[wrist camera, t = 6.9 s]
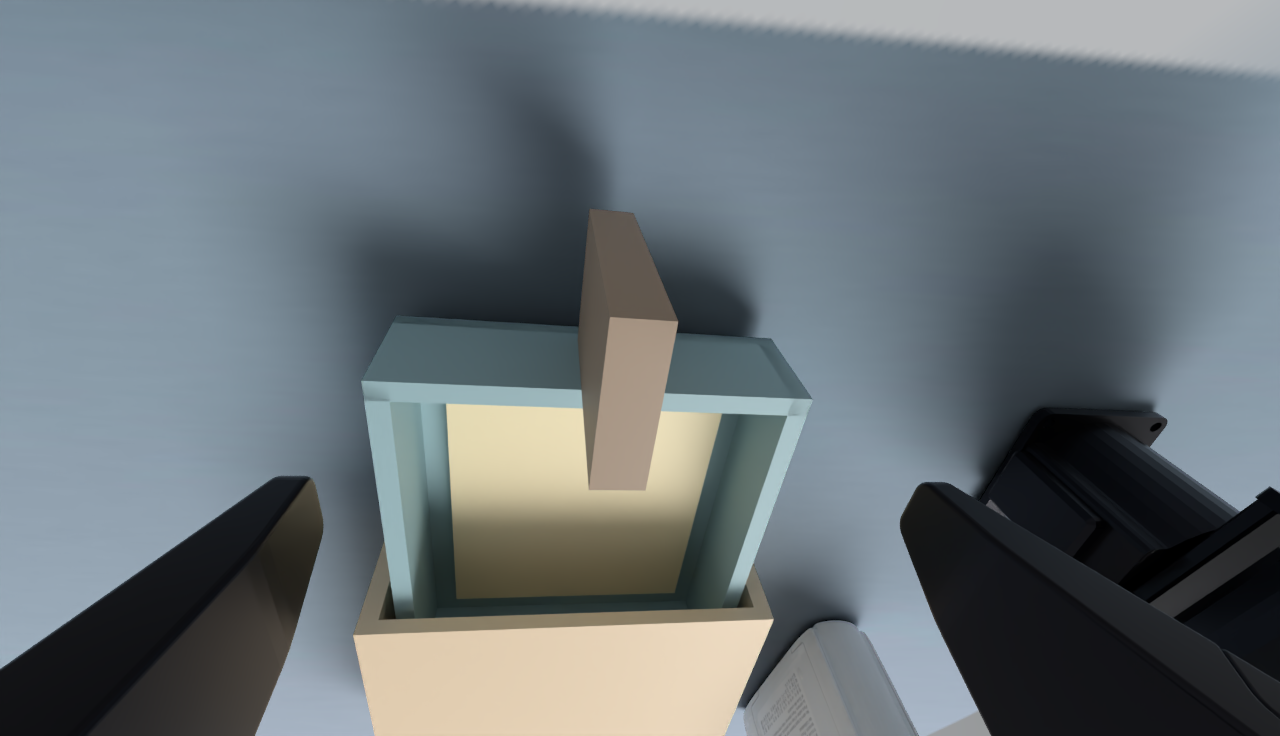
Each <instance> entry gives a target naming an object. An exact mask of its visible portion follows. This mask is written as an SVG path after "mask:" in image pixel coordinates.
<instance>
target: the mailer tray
mask: <svg viewBox="0 0 1280 736" xmlns="http://www.w3.org/2000/svg"><path fill="white" fill-rule="evenodd" d="M677 326H678V319H677V317H676V315H675V312H674V310H673V307H672V305H671V303H670V300H669V298H668V295H667V293H666V291H665V288H664V286H663V283H662V281H661V278H660V276H659V274H658V271H657V269H656V266H655V264H654V262H653V259H652V257H651V254H650V252H649V250H648V247H647V245H646V242H645V240H644V238H643V235H642V233H641V230H640V228H639V226H638V223H637V221H636V218H635V216H634V214H633V213H628V212H618V211H608V210H599V209H589V219H588V230H587V241H586V252H585V263H584V274H583V285H582V296H581V307H580V318H579V327H576V326H559V325H543V324H527V323H511V322H495V321H479V320H463V319H447V318H431V317H415V316H399V315H397V316H396V317H395V319H394V321H393V323H392V325H391V327H390V328H389V330H388V332H387V334H386V336H385V338H384V340H383V341H382V343H381V345H380V347H379V349H378V351H377V353H376V354H375V356H374V358H373V360H372V362H371V364H370V366H369V367H368V369H367V371H366V373H365V375H364V377H363V378H362V380H361V383H362V390H363V397H364V403H365V410H366V417H367V424H368V431H369V438H370V445H371V451H372V458H373V465H374V472H375V479H376V486H377V493H378V499H379V506H380V513H381V520H382V527H383V534H384V541H385V547H386V554H387V561H388V568H389V575H390V582H391V588H392V595H393V602H394V609H395V616H396V619H421V618H451V617H481V616H511V615H541V614H571V613H601V612H631V611H661V610H691V609H721V608H737V606H738V603H739V601H740V598H741V595H742V592H743V590H744V587H745V584H746V581H747V579H748V576H749V573H750V570H751V568H752V565H753V562H754V559H755V557H756V554H757V551H758V548H759V546H760V543H761V540H762V537H763V535H764V532H765V529H766V526H767V524H768V521H769V518H770V515H771V513H772V510H773V507H774V504H775V502H776V499H777V496H778V493H779V491H780V488H781V485H782V482H783V480H784V477H785V474H786V471H787V469H788V466H789V463H790V461H791V458H792V455H793V452H794V450H795V447H796V444H797V441H798V439H799V436H800V433H801V430H802V428H803V425H804V422H805V419H806V417H807V414H808V411H809V408H810V406H811V403H812V400H813V399H812V398H811V396H810V395H809V393H808V392H807V390H806V389H805V387H804V386H803V385H802V383H801V382H800V380H799V379H798V377H797V376H796V374H795V373H794V371H793V370H792V368H791V367H790V366H789V364H788V363H787V361H786V360H785V358H784V357H783V355H782V354H781V352H780V351H779V350H778V348H777V347H776V345H775V344H774V342H773V341H772V339H768V338H752V337H736V336H720V335H704V334H688V333H676V332H677Z"/></svg>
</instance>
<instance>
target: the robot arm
mask: <svg viewBox="0 0 1280 736" xmlns="http://www.w3.org/2000/svg"><path fill="white" fill-rule="evenodd" d="M1166 425H1167V419H1166V418H1164V417H1163V416H1161V415H1159V414H1158V413H1155V412H1134V411H1110V410H1086V409H1062V408H1043V409H1041V410H1039V411H1037V412H1036V413H1035V414H1034V415H1033V416H1032V417H1031V419H1030V421H1029V422H1028V424H1027V425H1026V427H1025V429H1024V430H1023V432H1022V433H1021V435H1020V436H1019V438H1018V440H1017V441H1016V443H1015V444H1014V446H1013V448H1012V449H1011V451H1010V452H1009V454H1008V456H1007V457H1006V459H1005V460H1004V462H1003V464H1002V465H1001V467H1000V468H999V470H998V472H997V473H996V475H995V476H994V478H993V480H992V481H991V483H990V484H989V486H988V488H987V489H986V491H985V492H984V494H983V496H982V497H981V499H980V500H979V501H978V500H976V499H974V498H973V497H971V496H969V495H968V494H966V493H964V492H963V491H961V490H959V489H958V488H956V487H954V486H953V485H951V484H949V483H945V482H924V483H921V484H920V485H919V486H918V487H917V488H916V490H915V492H914V493H913V495H912V497H911V499H910V501H909V503H908V505H907V506H906V508H905V510H904V512H903V514H902V516H901V519H900V530H901V534H902V536H903V539H904V542H905V544H906V547H907V549H908V552H909V555H910V557H911V560H912V563H913V565H914V568H915V570H916V573H917V576H918V578H919V581H920V583H921V586H922V589H923V591H924V594H925V596H926V599H927V602H928V604H929V607H930V609H931V612H932V614H933V617H934V619H935V622H936V624H937V626H938V628H939V630H940V632H941V635H942V637H943V639H944V641H945V643H946V645H947V647H948V649H949V651H950V653H951V655H952V657H953V659H954V661H955V663H956V665H957V667H958V669H959V671H960V673H961V675H962V677H963V680H964V682H965V684H966V686H967V688H968V690H969V692H970V694H971V696H972V698H973V700H974V702H975V704H976V706H977V708H978V710H979V712H980V714H981V716H982V718H983V720H984V722H985V724H986V726H987V728H988V730H989V732H990V734H991V736H1280V492H1279V491H1277V490H1275V489H1273V488H1272V487H1268V488H1267V489H1266V490H1264V491H1263V492H1261V493H1260V494H1259V495H1257V496H1256V498H1257V499H1258V500H1256V501H1255V502H1253V503H1252V504H1251V505H1249V506H1248V507H1247V508H1245V509H1244V510H1242V511H1241V512H1240V511H1238V510H1237V509H1235V508H1234V507H1233V506H1231V505H1230V504H1228V503H1227V502H1226V501H1224V500H1223V499H1221V498H1220V497H1218V496H1217V495H1216V494H1214V493H1213V492H1211V491H1210V490H1209V489H1207V488H1206V487H1204V486H1203V485H1202V484H1200V483H1199V482H1197V481H1196V480H1195V479H1193V478H1192V477H1190V476H1189V475H1188V474H1186V473H1185V472H1183V471H1182V470H1181V469H1179V468H1178V467H1176V466H1175V465H1174V464H1172V463H1171V462H1169V461H1168V460H1167V459H1165V458H1164V457H1162V456H1161V455H1160V454H1158V453H1157V452H1155V451H1154V450H1153V449H1151V448H1150V446H1151V445H1152V443H1153V442H1154V441H1155V440H1156V438H1157V437H1158V436H1159V434H1160V433H1161V432H1162V431H1163V429H1164V428H1165V427H1166ZM322 534H323V517H322V513H321V508H320V504H319V499H318V495H317V490H316V486H315V483H314V481H313V479H312V478H310V477H308V476H278V477H275V478H273V479H271V480H269V481H268V482H267V483H265V484H264V485H262V486H261V487H259V488H258V489H257V490H255V491H254V492H252V493H251V494H249V495H248V496H247V497H245V498H244V499H242V500H241V501H239V502H238V503H237V504H235V505H234V506H232V507H231V508H229V509H228V510H227V511H225V512H224V513H222V514H221V515H219V516H218V517H217V518H215V519H214V520H212V521H211V522H209V523H208V524H207V525H205V526H204V527H202V528H201V529H199V530H198V531H197V532H195V533H194V534H192V535H191V536H189V537H188V538H187V539H185V540H184V541H182V542H181V543H179V544H178V545H177V546H175V547H174V548H172V549H171V550H169V551H168V552H167V553H165V554H164V555H162V556H161V557H159V558H158V559H157V560H155V561H154V562H152V563H151V564H150V565H148V566H147V567H145V568H144V569H142V570H141V571H140V572H138V573H137V574H135V575H134V576H132V577H131V578H130V579H128V580H127V581H125V582H124V583H122V584H121V585H120V586H118V587H117V588H115V589H114V590H112V591H111V592H110V593H108V594H107V595H105V596H104V597H102V598H101V599H100V600H98V601H97V602H95V603H94V604H92V605H91V606H90V607H88V608H87V609H85V610H84V611H82V612H81V613H80V614H78V615H77V616H75V617H74V618H72V619H71V620H70V621H68V622H67V623H65V624H64V625H62V626H61V627H60V628H58V629H57V630H55V631H54V632H52V633H51V634H50V635H48V636H47V637H45V638H44V639H42V640H41V641H40V642H38V643H37V644H35V645H34V646H32V647H31V648H30V649H28V650H27V651H25V652H24V653H22V654H21V655H20V656H18V657H17V658H15V659H14V660H12V661H11V662H10V663H8V664H7V665H5V666H4V667H2V668H1V669H0V736H255V734H256V732H257V729H258V727H259V724H260V722H261V719H262V717H263V715H264V712H265V710H266V707H267V705H268V702H269V700H270V697H271V695H272V693H273V690H274V688H275V685H276V683H277V680H278V678H279V676H280V673H281V671H282V668H283V665H284V663H285V660H286V657H287V655H288V652H289V649H290V646H291V643H292V640H293V637H294V633H295V630H296V627H297V623H298V619H299V616H300V612H301V609H302V605H303V602H304V598H305V595H306V591H307V588H308V584H309V581H310V577H311V574H312V570H313V567H314V563H315V560H316V556H317V553H318V549H319V546H320V542H321V539H322Z"/></svg>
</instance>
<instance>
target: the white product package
mask: <svg viewBox="0 0 1280 736" xmlns="http://www.w3.org/2000/svg"><path fill="white" fill-rule="evenodd" d="M744 724H745V729H746V733H747V736H919V735H918V733H917V731H916V729H915V727H914V725H913V723H912V721H911V719H910V717H909V715H908V713H907V712H906V710H905V707H904V705H903V703H902V702H901V700H900V698H899V696H898V694H897V692H896V690H895V688H894V686H893V684H892V682H891V680H890V678H889V676H888V674H887V672H886V670H885V668H884V666H883V664H882V662H881V660H880V658H879V656H878V654H877V652H876V651H875V649H874V647H873V645H872V643H871V641H870V640H869V638H868V637H867V635H866V634H865V633H864V632H862V631H859V630H858V628H857V627H856V626H855V625H854V624H852V623H850V622H847V621H841V620H831V621H824V622H820V623H817V624H815V625H814V626H813V628H809V629H808V630H807V631H805V632H804V633H803V634H802V635H801V636H800V637H799V638H798V639H797V640H796V642H795V643H794V644H793V645H792V647H791V648H790V649H789V650H788V652H787V653H786V654H785V656H784V657H783V658H782V659H781V661H780V662H779V663H778V665H777V666H776V667H775V668H774V670H773V671H772V672H771V674H770V675H769V676H768V678H767V679H766V680H765V682H764V683H763V684H762V686H761V687H760V688H759V690H758V691H757V692H756V693H755V695H754V696H753V698H752V699H751V701H750V702H749V703H748V705H747V707H746V709H745V711H744Z"/></svg>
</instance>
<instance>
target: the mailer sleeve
mask: <svg viewBox="0 0 1280 736" xmlns="http://www.w3.org/2000/svg"><path fill="white" fill-rule="evenodd" d="M773 620H774V618H773V615H772V613H771V610H770V607H769V604H768V602H767V599H766V596H765V594H764V591H763V588H762V585H761V583H760V580H759V577H758V575H757V572H756V569H755V566H754V564H753V565H752V568H751V570H750V573H749V576H748V579H747V581H746V584H745V587H744V590H743V592H742V595H741V598H740V601H739V603H738V606H737V608H721V609H691V610H661V611H631V612H601V613H571V614H541V615H511V616H481V617H451V618H421V619H396V616H395V609H394V602H393V595H392V588H391V582H390V575H389V568H388V561H387V554H386V547H385V541H384V543H383V546H382V549H381V552H380V555H379V558H378V561H377V564H376V567H375V570H374V574H373V577H372V580H371V583H370V586H369V589H368V592H367V595H366V598H365V601H364V604H363V607H362V610H361V613H360V616H359V619H358V622H357V625H356V628H355V631H354V634H353V637H354V641H355V646H356V650H357V655H358V660H359V664H360V669H361V674H362V678H363V683H364V688H365V692H366V697H367V701H368V706H369V711H370V715H371V720H372V725H373V729H374V734H375V736H724V735H725V733H726V731H727V728H728V726H729V724H730V721H731V719H732V717H733V714H734V712H735V709H736V707H737V705H738V702H739V700H740V698H741V695H742V693H743V691H744V688H745V686H746V684H747V681H748V679H749V677H750V674H751V672H752V670H753V667H754V665H755V663H756V660H757V658H758V656H759V653H760V651H761V649H762V646H763V644H764V642H765V639H766V637H767V635H768V632H769V630H770V627H771V625H772V623H773Z"/></svg>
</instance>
